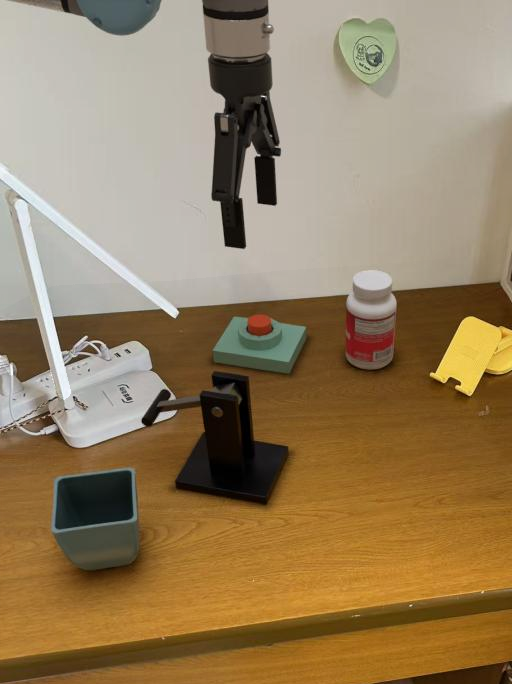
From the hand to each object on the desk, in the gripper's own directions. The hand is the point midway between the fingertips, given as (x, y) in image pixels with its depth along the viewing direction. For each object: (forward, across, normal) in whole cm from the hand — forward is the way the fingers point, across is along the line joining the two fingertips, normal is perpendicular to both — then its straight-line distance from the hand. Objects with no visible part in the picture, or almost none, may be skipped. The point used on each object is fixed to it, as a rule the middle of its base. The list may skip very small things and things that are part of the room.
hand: (252, 224), depth 106 cm
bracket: (+21, -27, -5) cm, 34 cm away
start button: (+17, +1, 0) cm, 17 cm away
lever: (+12, -27, -1) cm, 29 cm away
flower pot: (+21, -44, +4) cm, 49 cm away
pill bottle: (+21, +3, -17) cm, 27 cm away
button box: (+21, 0, 0) cm, 21 cm away
